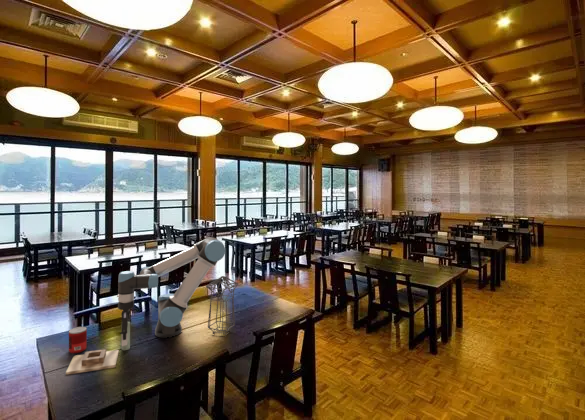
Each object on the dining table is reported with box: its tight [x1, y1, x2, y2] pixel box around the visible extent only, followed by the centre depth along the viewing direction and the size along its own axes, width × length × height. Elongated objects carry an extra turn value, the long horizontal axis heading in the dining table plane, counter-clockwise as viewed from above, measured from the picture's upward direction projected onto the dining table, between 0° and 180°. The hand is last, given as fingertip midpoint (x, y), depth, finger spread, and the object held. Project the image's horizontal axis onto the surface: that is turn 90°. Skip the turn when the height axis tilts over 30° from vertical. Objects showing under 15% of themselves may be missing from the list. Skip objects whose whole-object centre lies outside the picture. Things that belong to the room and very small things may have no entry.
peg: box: [121, 322, 131, 351], centre depth 177 cm, size 4×4×14 cm
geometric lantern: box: [205, 275, 239, 336], centre depth 199 cm, size 16×16×35 cm
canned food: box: [68, 326, 88, 354], centre depth 173 cm, size 8×8×11 cm
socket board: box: [65, 348, 120, 375], centre depth 162 cm, size 20×16×4 cm
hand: (125, 339), depth 177 cm, fingers open, 13 cm apart
